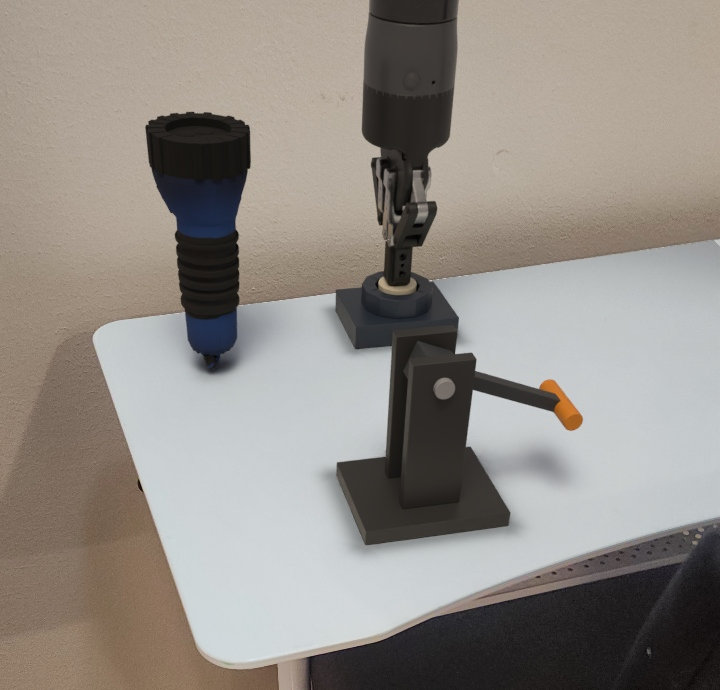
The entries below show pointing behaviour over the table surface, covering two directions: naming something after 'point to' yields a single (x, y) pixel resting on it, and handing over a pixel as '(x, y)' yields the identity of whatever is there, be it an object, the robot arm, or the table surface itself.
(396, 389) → the lever pivot stand
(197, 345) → the flashlight
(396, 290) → the power button
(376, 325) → the block
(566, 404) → the lever with orange handle
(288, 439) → the table surface
